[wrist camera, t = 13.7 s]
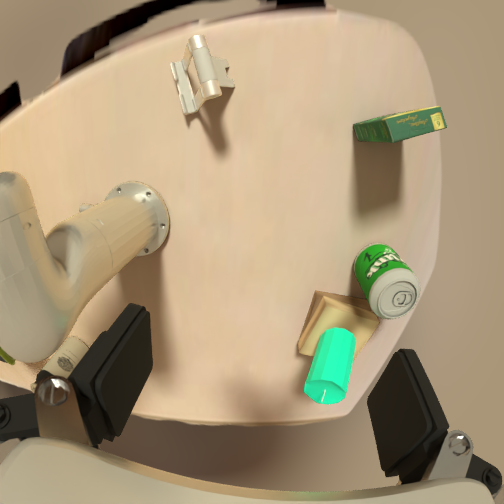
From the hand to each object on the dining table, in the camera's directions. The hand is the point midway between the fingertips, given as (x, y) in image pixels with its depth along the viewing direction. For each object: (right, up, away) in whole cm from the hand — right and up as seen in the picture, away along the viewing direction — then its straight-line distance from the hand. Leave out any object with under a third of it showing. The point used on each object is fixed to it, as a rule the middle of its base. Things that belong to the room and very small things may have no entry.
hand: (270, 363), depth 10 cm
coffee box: (+18, +22, +27) cm, 39 cm away
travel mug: (-43, -20, +50) cm, 69 cm away
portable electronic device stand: (-7, +29, +27) cm, 40 cm away
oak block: (+14, -9, +37) cm, 40 cm away
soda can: (+19, +2, +35) cm, 40 cm away
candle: (+13, -10, +33) cm, 37 cm away
